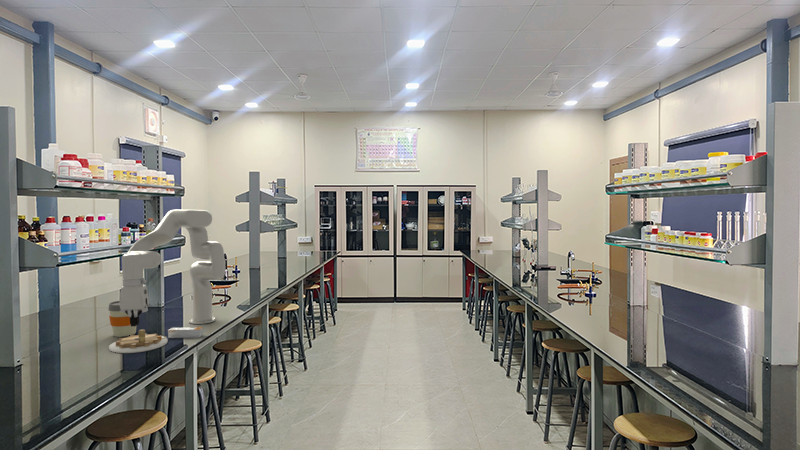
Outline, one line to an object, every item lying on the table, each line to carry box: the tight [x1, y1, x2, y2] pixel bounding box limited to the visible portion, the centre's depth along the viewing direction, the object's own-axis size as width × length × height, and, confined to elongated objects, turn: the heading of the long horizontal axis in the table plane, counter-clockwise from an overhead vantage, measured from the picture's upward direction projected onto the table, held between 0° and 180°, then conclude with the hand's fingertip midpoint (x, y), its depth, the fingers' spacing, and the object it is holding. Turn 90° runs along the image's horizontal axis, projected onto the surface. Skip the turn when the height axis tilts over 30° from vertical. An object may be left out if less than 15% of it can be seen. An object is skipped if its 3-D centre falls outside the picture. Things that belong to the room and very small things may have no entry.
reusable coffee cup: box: [108, 300, 137, 338], centre depth 212 cm, size 13×13×15 cm
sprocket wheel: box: [115, 329, 163, 348], centre depth 195 cm, size 17×17×6 cm
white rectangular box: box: [167, 326, 204, 339], centre depth 209 cm, size 4×14×4 cm, turn 94°
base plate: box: [108, 335, 169, 354], centre depth 196 cm, size 22×22×2 cm
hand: (134, 325), depth 190 cm, fingers closed
